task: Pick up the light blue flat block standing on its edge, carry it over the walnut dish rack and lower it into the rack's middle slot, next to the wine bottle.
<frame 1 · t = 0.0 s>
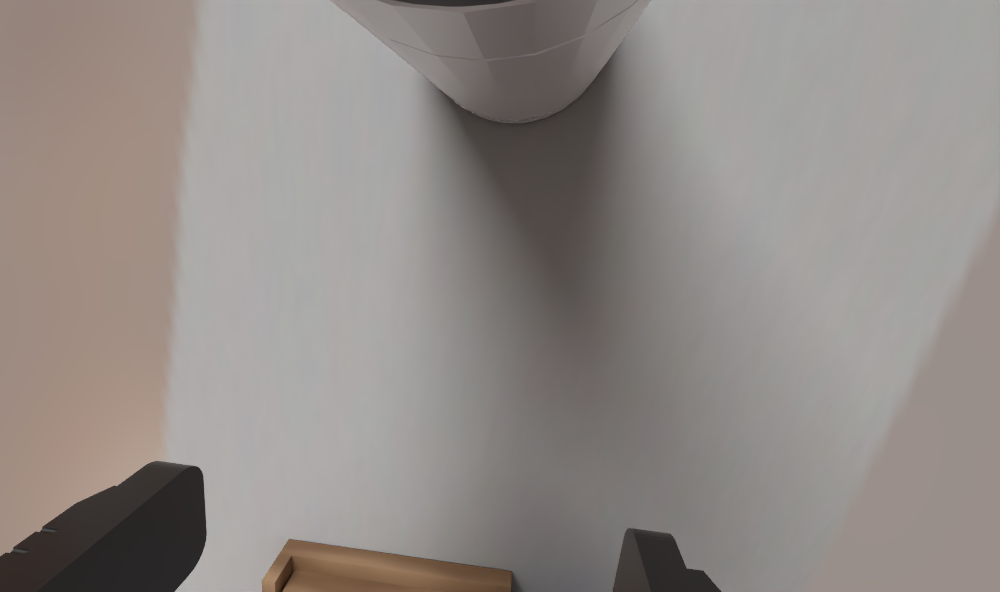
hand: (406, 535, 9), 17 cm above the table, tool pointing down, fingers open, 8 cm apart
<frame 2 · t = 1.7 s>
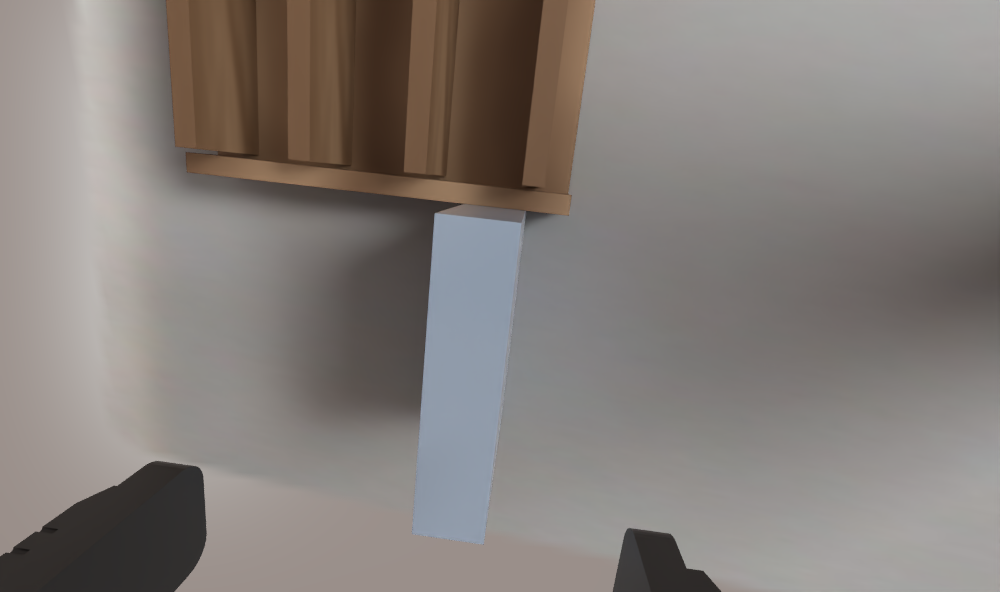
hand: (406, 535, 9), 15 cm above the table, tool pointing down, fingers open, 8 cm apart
light blue flat block: (489, 314, 23), on the table
rack: (405, 17, 20), on the table
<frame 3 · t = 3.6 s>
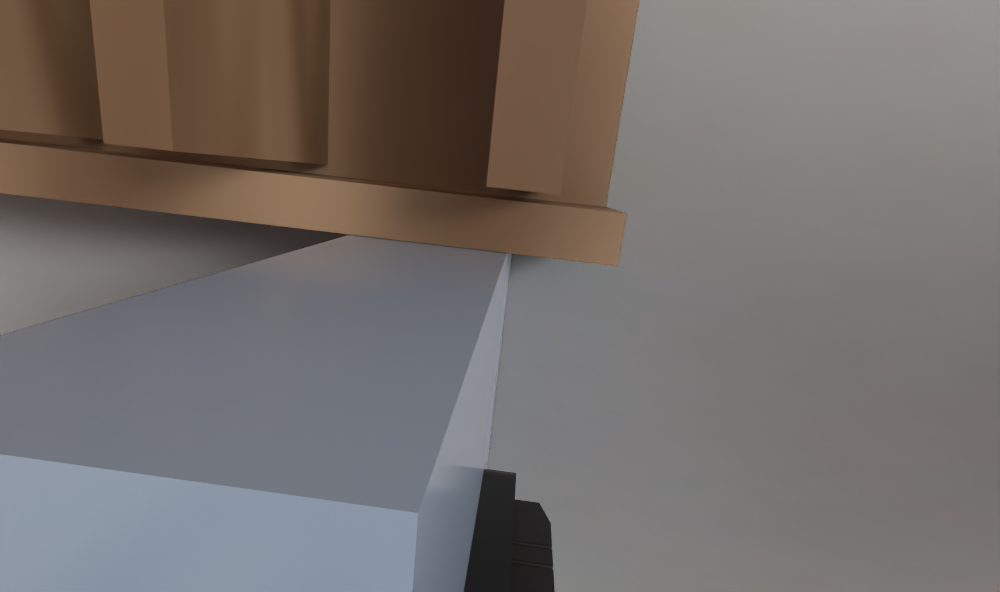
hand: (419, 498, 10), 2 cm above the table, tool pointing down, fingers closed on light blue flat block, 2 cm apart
light blue flat block: (440, 442, 12), on the table, touching gripper
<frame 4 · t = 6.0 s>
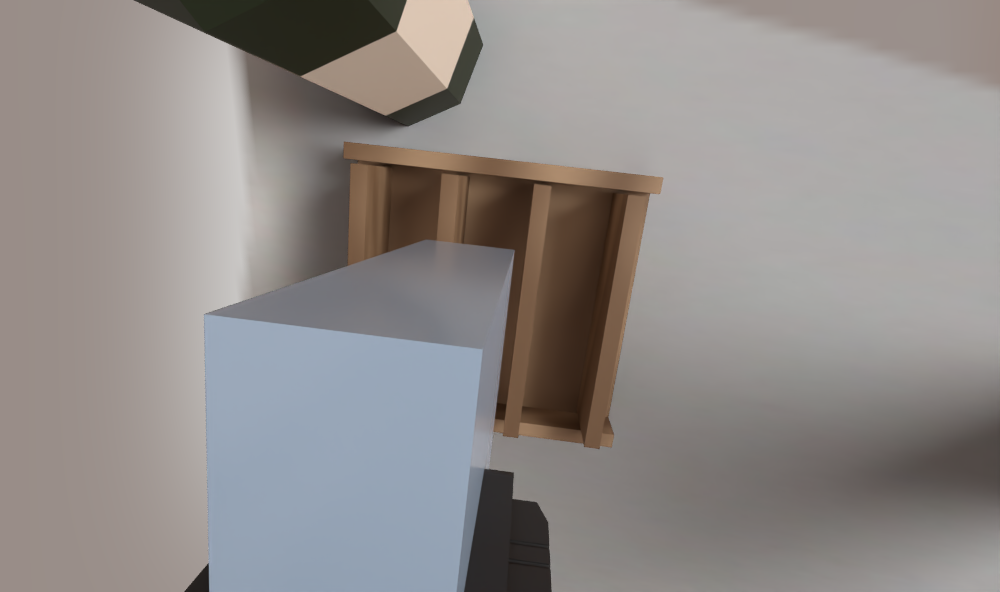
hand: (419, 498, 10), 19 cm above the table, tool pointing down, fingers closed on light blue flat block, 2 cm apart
wine bottle: (407, 45, 25), on the table
light blue flat block: (452, 425, 14), point 14 cm above the table, touching gripper
rack: (491, 290, 28), on the table
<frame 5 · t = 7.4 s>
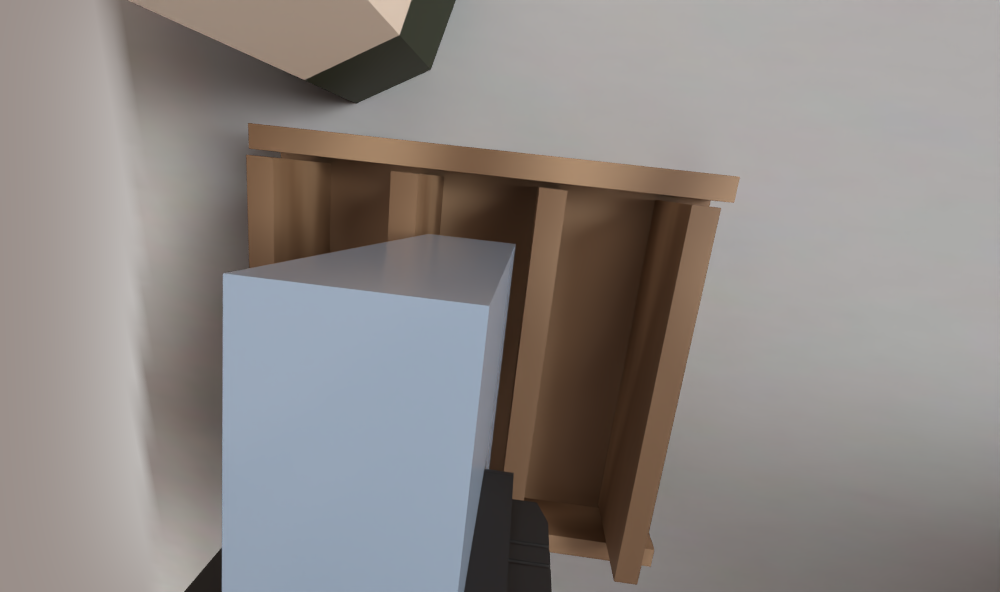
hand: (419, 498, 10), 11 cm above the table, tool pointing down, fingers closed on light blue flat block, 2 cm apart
light blue flat block: (453, 418, 14), point 6 cm above the table, touching gripper
rack: (477, 336, 20), on the table
when the fingers open (6 cm above the table, at t = 8.5 s): light blue flat block stays where it is, resting on rack.
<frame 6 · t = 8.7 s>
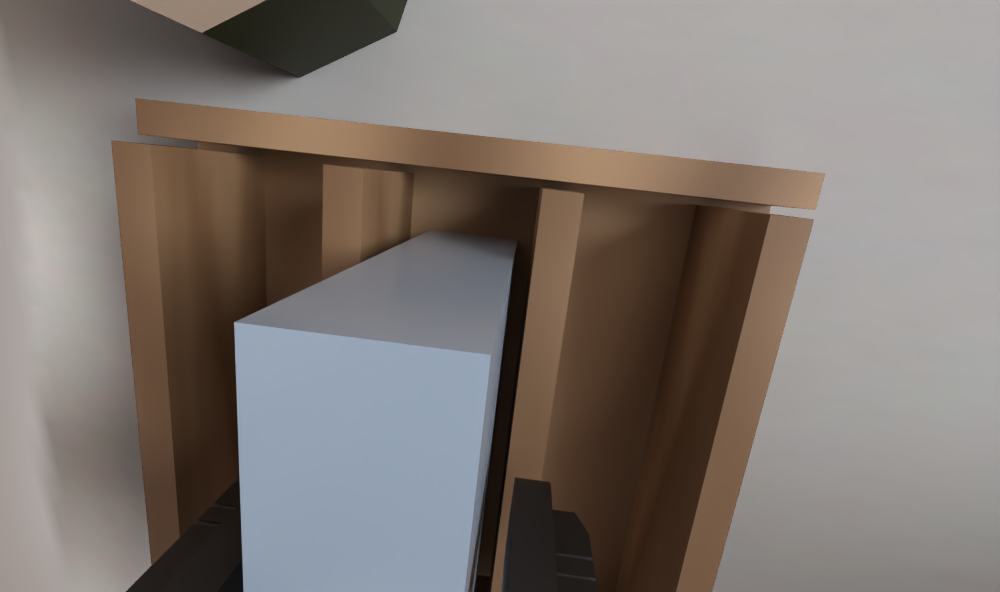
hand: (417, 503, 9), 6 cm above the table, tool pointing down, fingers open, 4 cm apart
light blue flat block: (457, 408, 14), point 1 cm above the table, touching rack
rack: (462, 377, 15), on the table
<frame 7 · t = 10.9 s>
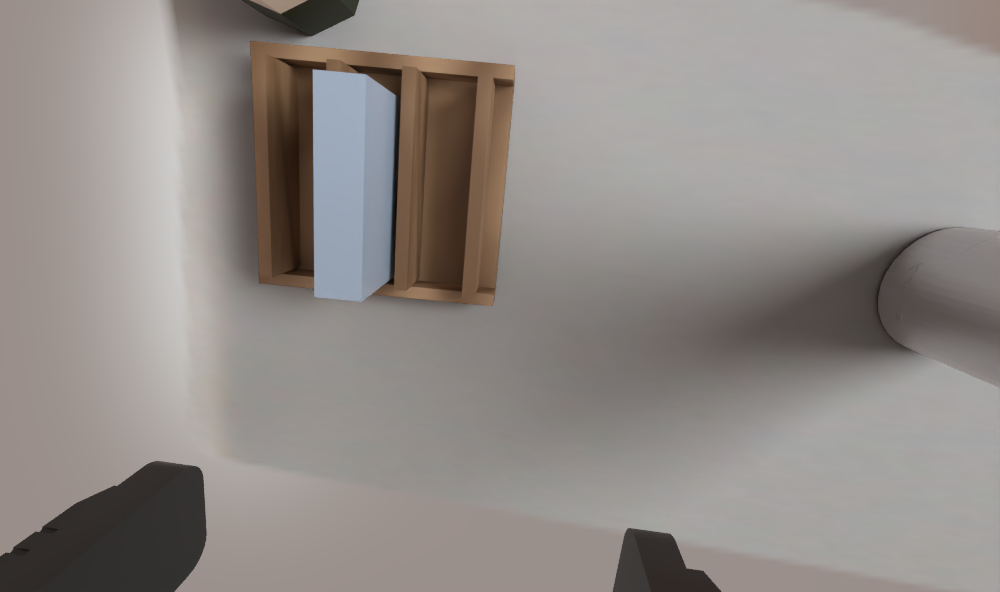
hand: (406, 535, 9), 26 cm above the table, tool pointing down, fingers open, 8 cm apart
light blue flat block: (388, 189, 31), point 1 cm above the table, touching rack
rack: (391, 181, 33), on the table
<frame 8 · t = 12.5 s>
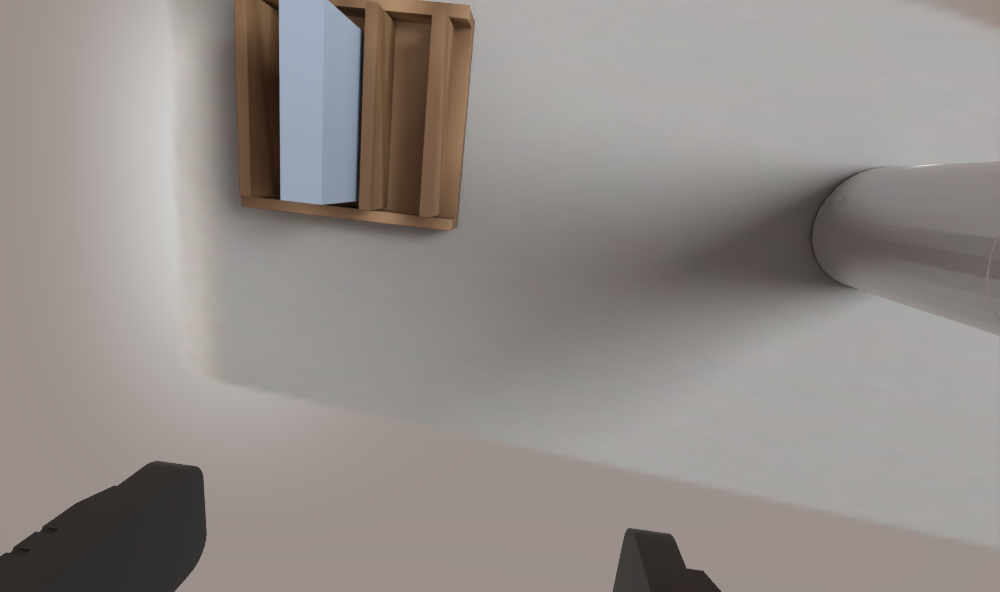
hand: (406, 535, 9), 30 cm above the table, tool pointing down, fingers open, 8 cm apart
light blue flat block: (359, 123, 35), point 1 cm above the table, touching rack
rack: (363, 118, 36), on the table
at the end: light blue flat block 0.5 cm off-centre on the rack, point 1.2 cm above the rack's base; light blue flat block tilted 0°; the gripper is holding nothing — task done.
